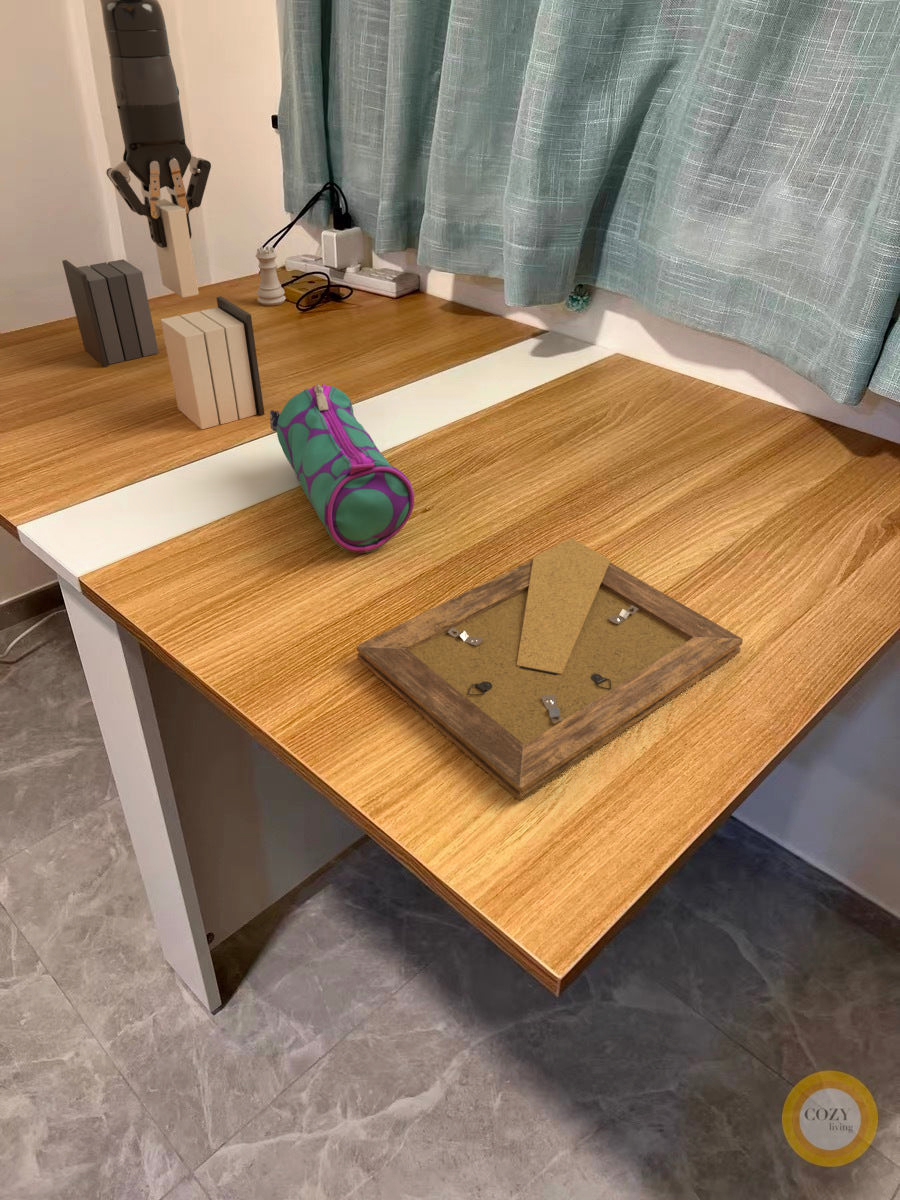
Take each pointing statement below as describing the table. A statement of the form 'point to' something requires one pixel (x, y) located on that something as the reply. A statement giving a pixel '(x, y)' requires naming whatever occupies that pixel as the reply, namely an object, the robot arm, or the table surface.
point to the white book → (176, 252)
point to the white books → (214, 364)
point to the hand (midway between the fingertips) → (172, 244)
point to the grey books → (112, 311)
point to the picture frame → (546, 662)
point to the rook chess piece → (269, 279)
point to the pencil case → (342, 470)
